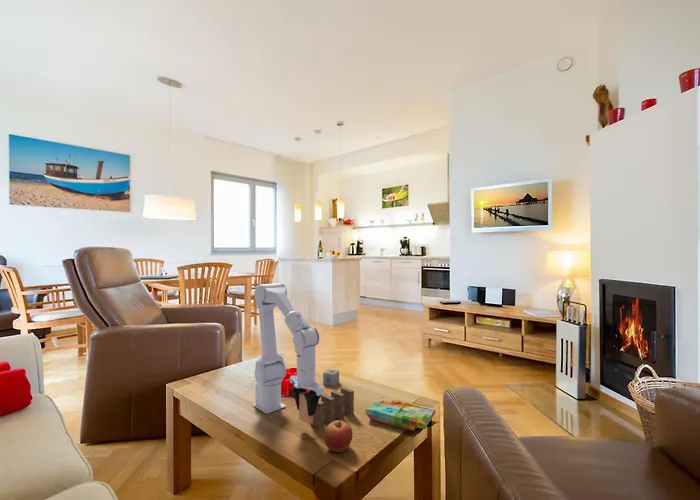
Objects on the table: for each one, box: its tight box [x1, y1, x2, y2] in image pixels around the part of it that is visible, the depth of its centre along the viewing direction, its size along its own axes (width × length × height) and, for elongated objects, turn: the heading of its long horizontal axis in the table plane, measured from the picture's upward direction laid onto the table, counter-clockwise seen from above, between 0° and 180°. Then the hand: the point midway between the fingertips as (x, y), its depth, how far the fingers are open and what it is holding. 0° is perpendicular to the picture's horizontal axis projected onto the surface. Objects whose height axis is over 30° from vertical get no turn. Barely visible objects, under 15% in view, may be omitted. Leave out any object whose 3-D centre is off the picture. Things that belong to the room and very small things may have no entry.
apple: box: [323, 419, 353, 453], centre depth 96 cm, size 8×8×8 cm
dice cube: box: [322, 368, 340, 387], centre depth 145 cm, size 5×5×5 cm
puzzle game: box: [365, 395, 437, 432], centre depth 113 cm, size 12×5×20 cm
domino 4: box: [330, 389, 345, 421], centre depth 115 cm, size 2×5×8 cm, turn 44°
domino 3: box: [320, 393, 336, 425], centre depth 112 cm, size 2×5×8 cm, turn 44°
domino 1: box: [298, 392, 313, 426], centre depth 106 cm, size 2×5×8 cm, turn 44°
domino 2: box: [310, 399, 325, 431], centre depth 109 cm, size 2×5×8 cm, turn 44°
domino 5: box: [340, 386, 355, 417], centre depth 118 cm, size 2×5×8 cm, turn 44°
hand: (306, 411), depth 106 cm, fingers closed on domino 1, 5 cm apart
